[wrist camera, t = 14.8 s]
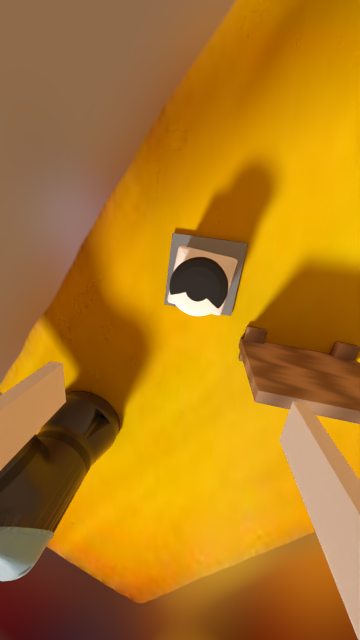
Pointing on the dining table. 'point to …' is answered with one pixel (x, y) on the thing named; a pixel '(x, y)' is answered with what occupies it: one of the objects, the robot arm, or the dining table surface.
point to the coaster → (213, 246)
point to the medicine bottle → (200, 281)
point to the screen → (303, 376)
